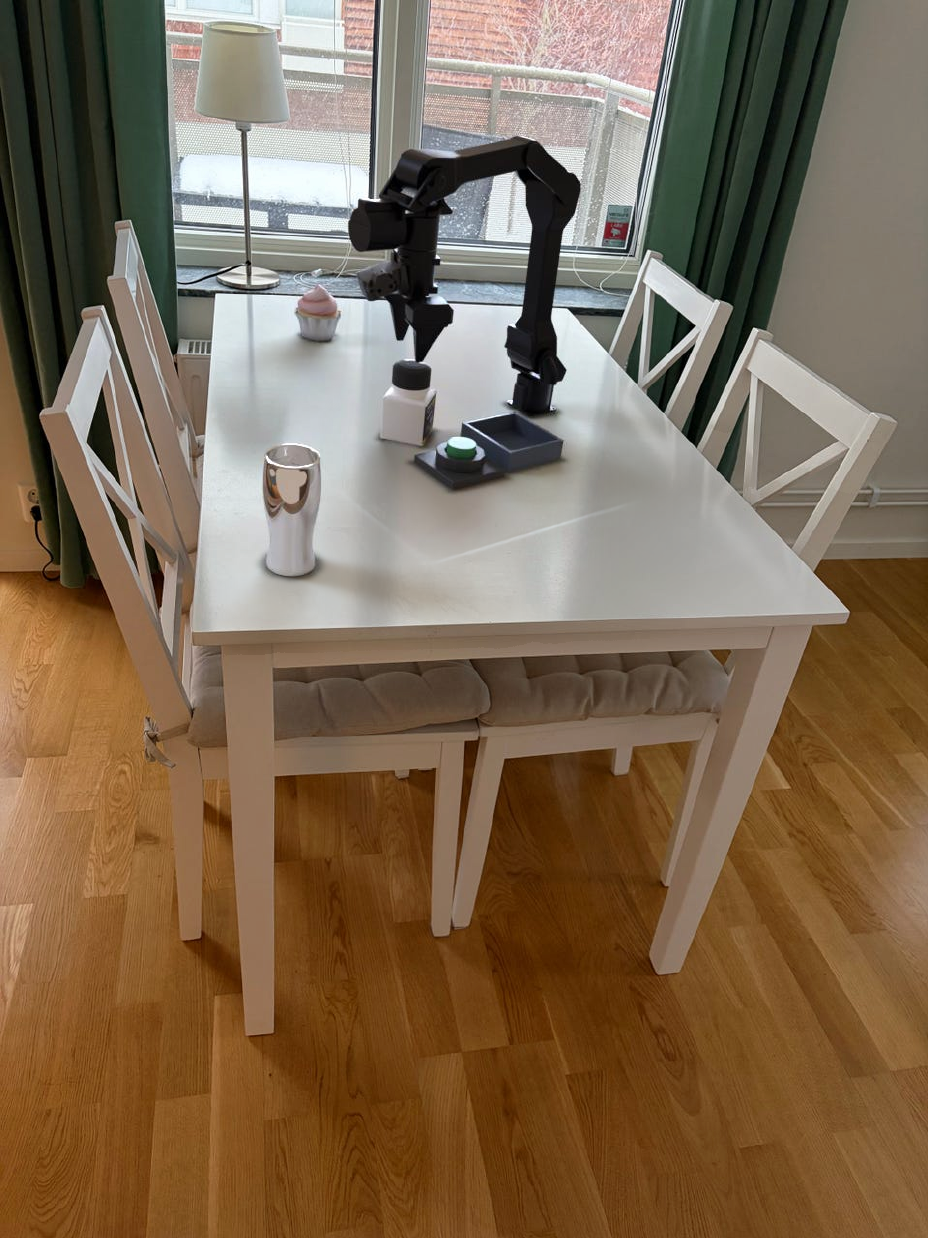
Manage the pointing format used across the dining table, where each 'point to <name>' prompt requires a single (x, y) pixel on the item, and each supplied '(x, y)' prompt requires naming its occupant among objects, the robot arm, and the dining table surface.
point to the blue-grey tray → (513, 441)
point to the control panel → (458, 467)
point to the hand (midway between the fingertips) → (409, 350)
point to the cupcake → (317, 314)
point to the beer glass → (291, 506)
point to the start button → (461, 447)
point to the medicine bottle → (409, 404)
